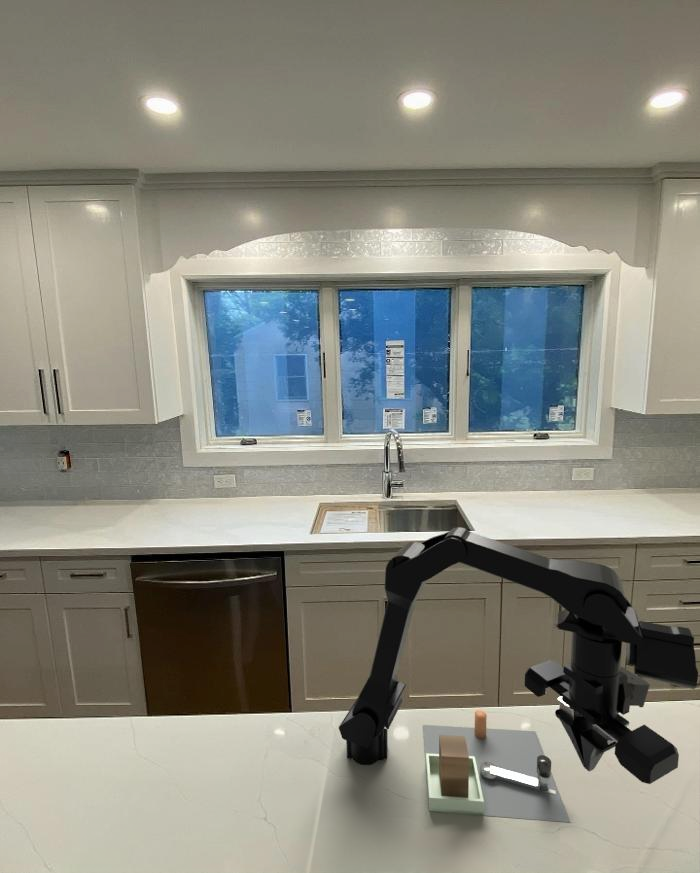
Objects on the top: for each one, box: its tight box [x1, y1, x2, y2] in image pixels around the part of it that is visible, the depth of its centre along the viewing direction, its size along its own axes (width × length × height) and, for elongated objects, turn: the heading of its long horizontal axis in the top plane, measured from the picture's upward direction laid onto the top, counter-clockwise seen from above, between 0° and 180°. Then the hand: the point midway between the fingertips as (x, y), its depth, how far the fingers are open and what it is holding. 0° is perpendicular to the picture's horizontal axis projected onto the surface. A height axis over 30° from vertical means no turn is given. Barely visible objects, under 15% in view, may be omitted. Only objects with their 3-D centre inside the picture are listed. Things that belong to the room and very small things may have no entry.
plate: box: [422, 709, 571, 824], centre depth 73 cm, size 20×16×5 cm
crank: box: [480, 755, 552, 791], centre depth 71 cm, size 10×3×5 cm, turn 69°
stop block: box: [439, 735, 469, 798], centre depth 69 cm, size 4×4×7 cm
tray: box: [425, 753, 484, 816], centre depth 70 cm, size 8×8×2 cm
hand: (588, 768), depth 61 cm, fingers closed
